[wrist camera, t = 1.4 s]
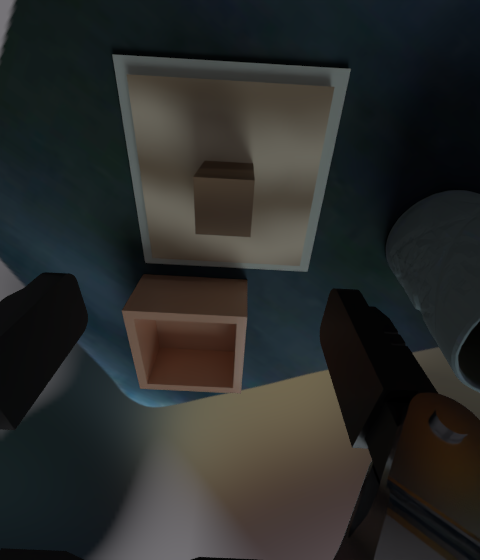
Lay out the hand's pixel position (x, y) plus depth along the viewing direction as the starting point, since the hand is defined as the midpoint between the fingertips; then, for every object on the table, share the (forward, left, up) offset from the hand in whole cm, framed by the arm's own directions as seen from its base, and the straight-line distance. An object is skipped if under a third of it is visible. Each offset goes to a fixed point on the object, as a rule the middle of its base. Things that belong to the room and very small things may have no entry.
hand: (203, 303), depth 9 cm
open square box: (+14, -3, -15) cm, 21 cm away
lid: (0, 0, -15) cm, 15 cm away
